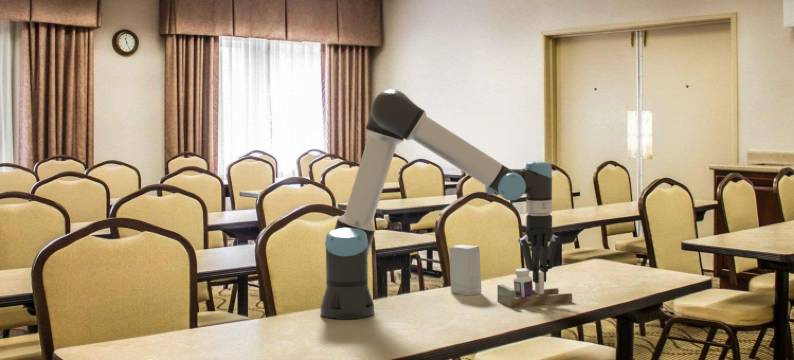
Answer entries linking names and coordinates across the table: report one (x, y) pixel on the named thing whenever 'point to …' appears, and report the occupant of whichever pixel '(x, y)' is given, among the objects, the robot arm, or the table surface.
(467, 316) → the table surface
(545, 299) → the rail
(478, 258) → the skincare box
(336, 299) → the robot arm
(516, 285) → the pill bottle
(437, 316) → the table surface
